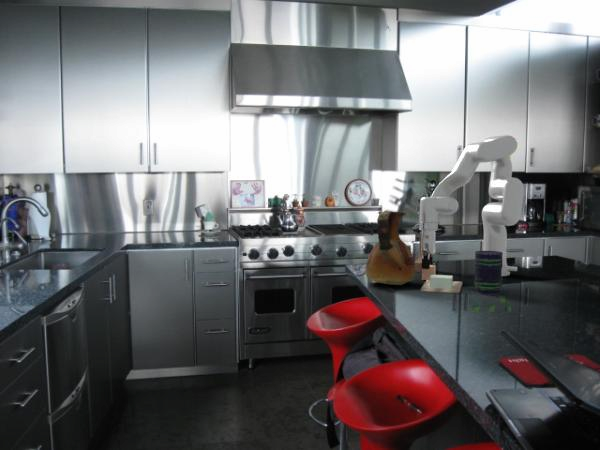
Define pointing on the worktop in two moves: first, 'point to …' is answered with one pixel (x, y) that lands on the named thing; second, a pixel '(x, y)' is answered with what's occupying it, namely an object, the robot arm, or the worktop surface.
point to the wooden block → (419, 262)
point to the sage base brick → (441, 281)
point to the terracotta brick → (428, 272)
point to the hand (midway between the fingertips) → (427, 267)
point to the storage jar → (488, 272)
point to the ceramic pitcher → (390, 253)
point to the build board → (455, 287)
